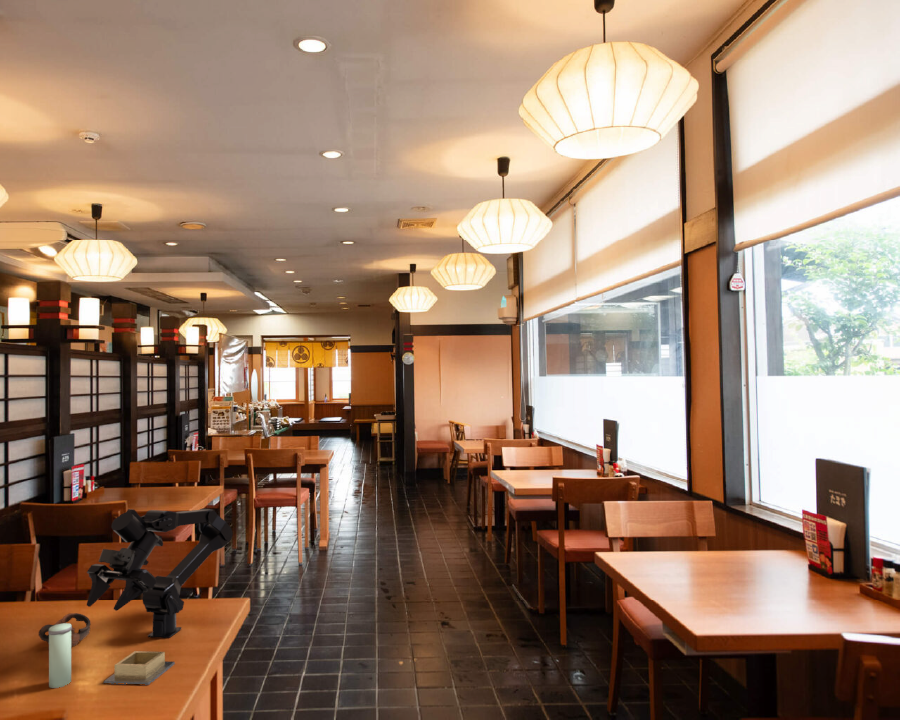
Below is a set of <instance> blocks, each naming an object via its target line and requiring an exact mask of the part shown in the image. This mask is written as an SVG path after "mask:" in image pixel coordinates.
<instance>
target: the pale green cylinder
mask: <svg viewBox="0 0 900 720" xmlns="http://www.w3.org/2000/svg"><path fill="white" fill-rule="evenodd" d="M53 625H54V624H53ZM72 626H73V625H72V624H71V623H70V622H69V623H68V622H66V623H63V624H58V625H54V626H52V627H50V628H49V632H48V635H49V644H48V688H50V689H59V687H60V688H63V687H65V685H66V686H68V685H70V684H71V683H72V646H71V640H72V637H71V630H72V628H73V627H72ZM70 682H71V683H70ZM69 683H70V684H69ZM67 684H68V685H67Z"/></svg>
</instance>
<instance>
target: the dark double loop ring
mask: <svg viewBox="0 0 900 720" xmlns="http://www.w3.org/2000/svg"><path fill="white" fill-rule="evenodd" d="M72 619H75V620H76V621H75V622H84V623H85V626H84V627H83V628H79V629H78V632H75V630H76V628H74V627H72V630H71V647H75V645H76V646H77V645H78V644H79V642H81V641H83V640H84V639H85V638H87V636H88V635H89V634H90V632H91V623H92V622H91V620H90V618H89V617H87V616H86V615H85V614H82V613H76V612H75V613H73V612H72V613H68V614H65V615H64V616H63V617H62V618H61V619H58V620H57V621H56V623H54V624H49V623H48V624H45V625H44V626H42V627H41V628H40V629H39V631H38V637H39V638H40V639H41V640H42V641H43V642H47V644H48V645H49V634H46V633H49V628H50V627H52V626H54V625H58V624H63V623H68V622H70V621H71V620H72Z"/></svg>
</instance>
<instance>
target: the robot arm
mask: <svg viewBox="0 0 900 720" xmlns="http://www.w3.org/2000/svg"><path fill="white" fill-rule="evenodd" d="M196 524H198V531H199V532H200V535H199V541H198V543H197V544H196V545H195V546H194V547H193V548H192V549H191V550H190V552H188V553H187V554H186V556H184V558H183V559H182V560H181V561H179V563H178V564H177V565H176V566H175V567H174V568H173V569H172V571H170V572H169V574H168V575H166V576H162V575H156V576H154V575H153V574H152V573H151V572H150V571H149V570H148V569H145V568H142V567H143V566H147V565H148V564H149V560H147V559H148V557H149V556H150V555H151V553H152V551H153V550H154V548H155V547H163V546H164V541H163V539H162V537H163V536H162V535H157V534H156V533H155V532H157V533H167V532H170V531H173V530H176V528H177V527H181V526H182V527H183V526H189V525H196ZM110 527H111V529H112V530H113V532H114V533H115V534H117V535H118V536H119V537H120V538H121V539H122V540H123V542H125V543H129V545H128V547H126V548H125V547H121V548H120V549H119V550H114V549H107V548H102V551H101V554H100V556H99V558H98V562H99V563H107V564H108V566H109V567H110V568H109V567H108V566H107V565H106V564H99V563H95V564H92V565H90V566H89V568H88V570H87V571H86V574H88V577H89V578H90V579H91V586H90V587H91V588H90V590H89V595H88V598H87V602H86V606H87V607H88V608H91V606H93V605H94V604H95V603H96V602H97V601H99V599H100V598H101V597H102V596H103V595H104V594H105V593H106V592H107V591H108V590H109V589H110V587H111V584H112V583H113V582H115V580H118V581H125V587H124V589H123V590H122V592H121V593H120V595H119V596H118V599H117V601H116V603H115V604H114V606H113V610H114V611H116V612H117V611H119V610H120V609H122V608H123V607H124V606H126V605H127V604H129V603H130V602H131V601H133V600H135V599H136V598H137V597H140V596H141V595H142V604H143V606H144V608H145V610H146V612H147V613H152V614H153V615H152V631H151V632H150V633H149V634H147V637H148V638H156V639H159V638H164V639H169V638H171V637H173V636H174V635H175V634H177V633H178V632H179V631H181V630H182V627H181V626H177V614H179V613H180V612H181V611H183V609H184V605H185V601H184V600H183V599H182V598H180V595H181V589H182V586H183V585H184V584H185V583H186V582H187V580H188V579H189V578H190V577H192V575H193V574H194V573H195V572H196V571H197V569H199V568H200V566H201V565H202V564H203V563H204V562H205V561H206V559H208V558H209V556H210V555H212V554H213V552H216V551H218V550H221V549H222V548H224V547H225V546H226V545H228V544H229V543H230V542H231V541H232V539H233V533H234V532H233V530H232V528H231V526H230V525H229V524H228V522H227V521H226V520H225V519H223V518H222V517H220V516H219V515H218V513H217V511H215V510H214V509H212V508H211V509H210V508H200V509H195V510H183V511H171V510H158V509H150V510H148V511H146V512H145V514H144V515H142V516H140V515H139V513H138V512H137V511H136V510H135V508H134V509H133V508H131V509H130V508H128V509H127V510H126V512H124V513H121V514H120V515H118V516H117V517H115V518H114V519H113V521H112V523H111V526H110ZM112 569H113V570H112Z"/></svg>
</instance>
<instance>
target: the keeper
mask: <svg viewBox="0 0 900 720" xmlns="http://www.w3.org/2000/svg"><path fill="white" fill-rule="evenodd" d="M165 655H166V651H152V650H151V651H144V650H143V651H141V650H138V651H137V650H134V651H132V652H131V653H130V654H128V655H127V656H125V657H124V658H123V659H121V660H120V661H118V662H117V663H116V664H114V673H113V674H112V675H110V676H109V677H107V678H106V679H105V680H103V684H104V683H111V684H110V685H119V684H118V683H124V684H123V685H126V683H127V684H145V685H144V686H150V685H151V684H152V683H153V682H154V681H156V680H155V679H159V678H160V677H161V676H162V675H163V674H164V673H165V672H167V671H168V670H169V669H170V668H172V667H173V666H174V665H176V663H175V661H170V660H169V661H166V660H165V659H166V658H165V657H166V656H165ZM151 682H152V683H151ZM114 683H116V684H114ZM150 683H151V684H150Z"/></svg>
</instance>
